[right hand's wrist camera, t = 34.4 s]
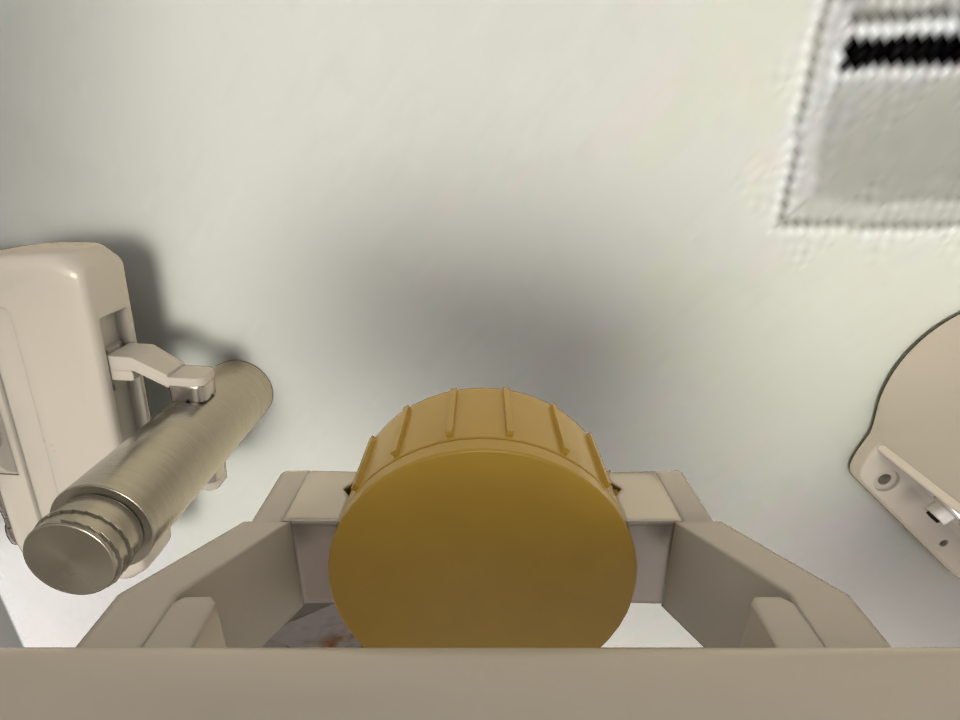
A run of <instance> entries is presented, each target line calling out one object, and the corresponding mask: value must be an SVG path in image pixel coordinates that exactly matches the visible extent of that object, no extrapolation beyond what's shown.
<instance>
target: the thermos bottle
mask: <svg viewBox="0 0 960 720" xmlns="http://www.w3.org/2000/svg"><path fill="white" fill-rule="evenodd" d="M214 375H215V385H216V393H215V394H214V395H211V397H210V399H208V400H207V401H205V402H201V403H194V402H191V401H189V400H187V401H185V402H175V401H173V402H172V403H171V404H169V405H168V406H167V407H166V408H165V409H163V410H162V411H161V412H160V413H158V414H157V415H156V416H155V417H153V418H152V419H151V420H150V421H149V422H147V423H146V424H145V425H144V426H142V427H141V428H140V429H139V430H137V431H136V432H135V433H134V434H133V435H131V436H130V437H129V438H128V439H126V440H125V441H124V442H123V443H122V444H120V445H119V446H118V447H117V448H115V449H114V450H113V451H112V452H110V453H109V454H108V455H107V456H106V457H104V458H103V459H102V460H101V461H99V462H98V463H97V464H96V465H95V466H93V467H92V468H91V469H90V470H88V471H87V472H86V473H85V474H83V475H82V476H81V477H80V478H79V479H77V480H76V481H75V482H74V483H72V484H71V485H70V486H69V487H67V488H66V489H65V490H64V491H63V492H61V493H60V494H59V495H58V496H57V497H56V498H55V500H54V501H53V503H52V505H51V508H50V513H49V514H47V515H46V516H44V517H43V518H41V519H40V520H39V521H38V523H37V524H36V526H35V527H34V528H33V530H32V531H31V532H30V533H29V534H28V535H27V537H26V539H25V541H24V544H23V556H24V559H25V562H26V564H27V566H28V567H29V569H30V570H31V571H32V573H33V574H34V575H35V576H36V577H37V578H38V579H40V580H41V581H42V582H44V583H45V584H47V585H48V586H50V587H52V588H54V589H57V590H59V591H62V592H65V593H70V594H77V595H86V594H93V593H96V592H99V591H101V590H103V589H105V588H106V587H109V586H110V585H112V584H113V583H115V582H116V581H117V580H118V579H119V577H120V576H121V575H122V574H123V572H125V571H126V569H127V568H128V567H129V566H131V565H133V564H136V563H138V562H140V561H141V560H143V559H144V558H145V557H146V556H147V555H148V554H149V553H150V552H151V551H152V549H153V548H154V547H155V546H156V544H157V543H158V542H159V541H160V540H161V538H162V537H163V536H164V535H165V534H166V532H167V531H168V530H169V529H170V527H171V526H172V525H173V524H174V523H175V521H176V520H177V519H178V518H179V517H180V515H181V514H182V513H183V512H184V511H185V509H186V508H187V507H188V506H189V504H190V503H191V502H192V501H193V500H194V498H195V497H196V496H197V495H198V494H199V492H200V491H201V490H202V489H203V487H204V486H205V485H206V484H207V483H208V481H209V480H210V479H211V478H212V477H213V475H214V474H215V473H216V472H217V470H218V469H219V468H220V467H221V466H222V464H223V463H224V462H225V461H226V460H227V458H228V457H229V456H230V455H231V453H232V452H233V451H234V450H235V449H236V447H237V446H238V445H239V444H240V443H241V441H242V440H243V439H244V438H245V437H246V435H247V434H248V433H249V432H250V430H251V429H252V428H253V427H254V426H255V424H256V423H257V422H258V421H259V420H260V418H261V417H262V416H263V415H264V413H265V412H266V411H267V410H268V408H269V407H270V405H271V402H272V397H273V392H272V387H271V384H270V382H269V380H268V378H267V377H266V376H265V374H264V373H263V372H262V371H261V370H259V369H258V368H257V367H255V366H253V365H251V364H249V363H246V362H243V361H227V362H223V363H221V364H219V365H217V366H216V367H215V368H214Z"/></svg>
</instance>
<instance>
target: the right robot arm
mask: <svg viewBox="0 0 960 720" xmlns="http://www.w3.org/2000/svg"><path fill="white" fill-rule="evenodd" d="M850 472H851V474H852V475H853V476H854V477H855V478H856V479H857V480H858V481H859V482H860V483H861V484H862V485H863V486H864V487H865V488H866V489H867V490H868V491H869V492H870V493H871V494H872V495H873V496H874V497H875V498H876V499H877V500H878V501H879V502H880V503H881V504H882V505H883V506H884V507H885V508H886V509H887V510H888V511H889V512H890V513H891V514H892V515H893V516H894V517H895V518H896V519H897V520H898V521H899V522H900V523H901V524H902V525H903V526H904V527H905V528H906V529H907V530H909V531H910V532H911V533H912V534H913V535H914V536H915V537H916V538H917V539H918V540H919V541H920V542H921V543H922V544H923V545H924V546H925V547H926V548H927V549H928V550H929V551H930V552H931V553H932V554H933V555H934V556H935V557H936V558H937V559H938V560H939V561H940V562H941V563H942V564H943V565H944V566H945V567H946V568H947V569H948V570H949V571H951V572H952V573H953V574H955V575H956V576H957V577H959V578H960V314H959V315H957V316H955V317H953V318H952V319H950V320H948V321H947V322H945V323H943V324H942V325H940V326H939V327H938V328H936V329H935V330H933V331H932V332H931V333H929V334H928V335H927V336H926V337H925V338H923V339H922V340H921V341H920V342H919V343H918V344H917V345H916V346H915V347H914V348H913V349H912V350H911V351H910V352H909V353H908V354H907V355H906V356H905V357H904V359H903V360H902V361H901V362H900V364H899V365H898V366H897V368H896V369H895V371H894V372H893V374H892V375H891V377H890V379H889V380H888V382H887V384H886V386H885V388H884V390H883V393H882V395H881V398H880V401H879V404H878V407H877V411H876V416H875V420H874V423H873V426H872V429H871V431H870V434H869V435H868V436H867V438H866V439H865V440H864V442H863V443H862V444H861V446H860V447H859V449H858V450H857V452H856V453H855V455H854V456H853V458H852V460H851V463H850ZM356 473H357V472H342V471H286V472H283V473H282V474H281V475H280V477H279V479H278V480H277V482H276V483H275V485H274V487H273V488H272V490H271V492H270V493H269V495H268V496H267V498H266V500H265V501H264V503H263V505H262V506H261V508H260V509H259V511H258V513H257V514H256V516H255V518H254V519H253V521H252V522H243V523H241V524H240V525H238V526H236V527H234V528H233V529H231V530H229V531H228V532H226V533H224V534H222V535H221V536H219V537H217V538H215V539H214V540H212V541H210V542H209V543H207V544H205V545H203V546H202V547H200V548H198V549H196V550H195V551H193V552H191V553H190V554H188V555H186V556H184V557H183V558H181V559H179V560H178V561H176V562H174V563H172V564H171V565H169V566H167V567H165V568H164V569H162V570H160V571H159V572H157V573H155V574H153V575H152V576H150V577H148V578H146V579H145V580H143V581H141V582H140V583H138V584H136V585H134V586H133V587H131V588H129V589H127V590H126V591H124V592H122V593H121V594H119V595H118V596H117V597H116V598H115V600H114V601H113V602H112V603H111V604H110V606H109V607H108V608H107V609H106V611H105V612H104V613H103V614H102V616H101V617H100V618H99V619H98V620H97V622H96V623H95V624H94V625H93V627H92V628H91V629H90V630H89V631H88V633H87V634H86V635H85V636H84V638H83V639H82V640H81V641H80V643H79V644H78V645H77V646H76V647H75V648H0V720H960V648H892V647H891V646H890V645H889V644H888V642H887V641H886V640H885V639H884V638H883V636H882V635H881V634H880V633H879V631H878V630H877V629H876V628H875V627H874V625H873V624H872V623H871V622H870V621H869V619H868V618H867V617H866V616H865V614H864V613H863V612H862V611H861V610H860V608H859V607H858V606H857V605H856V603H855V602H854V601H853V600H852V599H851V597H850V596H849V595H847V594H845V593H844V592H842V591H840V590H838V589H837V588H835V587H833V586H831V585H830V584H828V583H826V582H825V581H823V580H821V579H819V578H818V577H816V576H814V575H812V574H811V573H809V572H807V571H805V570H804V569H802V568H800V567H799V566H797V565H795V564H793V563H792V562H790V561H788V560H786V559H785V558H783V557H781V556H779V555H778V554H776V553H774V552H772V551H771V550H769V549H767V548H766V547H764V546H762V545H760V544H759V543H757V542H755V541H753V540H752V539H750V538H748V537H746V536H745V535H743V534H741V533H740V532H738V531H736V530H734V529H733V528H731V527H729V526H727V525H726V524H724V523H722V522H713V521H712V519H711V517H710V516H709V514H708V513H707V511H706V510H705V508H704V506H703V505H702V503H701V502H700V500H699V499H698V497H697V495H696V494H695V492H694V491H693V489H692V488H691V486H690V484H689V483H688V481H687V480H686V478H685V477H684V475H683V473H682V472H680V471H678V470H675V471H653V472H611V473H607V474H608V477H609V479H610V482H611V485H612V487H613V488H614V489H616V490H618V492H619V493H618V494H617V496H616V498H617V500H618V503H619V505H620V508H621V510H622V513H623V516H624V518H625V521H626V523H627V526H628V529H629V531H630V534H631V537H632V541H633V544H634V547H635V553H636V560H637V578H636V585H635V590H634V594H633V598H632V601H631V603H662V605H661V606H662V607H663V608H664V609H665V610H666V611H667V612H668V613H669V614H670V615H672V616H673V617H674V618H675V619H676V620H677V621H678V622H679V623H680V624H681V625H682V626H683V627H684V628H685V629H686V630H687V631H688V632H689V633H690V634H691V635H692V636H693V637H694V638H695V639H696V640H697V641H698V642H699V643H700V644H701V645H702V646H703V647H704V648H261V647H262V646H263V645H264V644H265V643H266V642H267V641H268V640H269V639H270V638H271V637H272V636H273V635H274V634H275V633H276V632H277V631H278V630H279V629H281V628H282V627H283V626H284V625H285V624H286V623H287V622H288V621H289V620H290V619H291V618H292V617H293V616H294V615H295V614H296V613H297V612H298V611H299V610H300V609H301V608H302V607H303V603H334V601H333V598H332V593H331V589H330V585H329V575H328V562H329V552H330V548H331V544H332V541H333V537H334V534H335V531H336V529H337V526H338V523H339V521H340V518H341V515H342V513H343V510H344V508H345V505H346V502H347V500H348V497H349V496H348V494H350V492H351V487H352V484H353V481H354V479H355V476H356ZM881 475H882V476H881ZM880 476H881V477H880ZM879 477H880V478H879Z"/></svg>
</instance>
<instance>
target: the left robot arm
mask: <svg viewBox="0 0 960 720" xmlns="http://www.w3.org/2000/svg"><path fill="white" fill-rule="evenodd" d="M143 376H145V377H147V378H149V379H151V380H153V381H155V382H157V383H159V384H161V385H163V386H165V387H168V388H170V393H171V398H172V401H175V402H185V401H187V400H189V401H191V402H194V403H201V402H205V401H207V400H208V399H210V397H211V395H214V394H215V393H216V385H215V375H214V368H212V367H208V366H193V365H185V364H184V362H182V361H180V360H179V359H177V358H175V357H174V356H172V355H170V354H169V353H167V352H165V351H164V350H162V349H161V348H159V347H157V346H156V345H154V344H144V343H137V339H136V333H135V328H134V322H133V316H132V311H131V305H130V300H129V294H128V288H127V283H126V277H125V271H124V266H123V262H122V260H121V258H120V257H118V256H117V255H116V254H115V253H113V252H112V251H111V250H109V249H108V248H107V247H105V246H104V245H102V244H100V243H93V242H54V243H42V244H33V245H26V246H20V247H15V248H9V249H4V250H0V512H1V514H2V516H3V518H4V521H5V524H6V525H5V532H6V535H7V537H8V539H9V540H10V542H11V543H12V544H15V545H18V546H19V548H20V549H21V551H22V552H23V544H24V541H25V539H26V537H27V535H28V534H29V533H30V532H31V531H32V530H33V528H34V527H35V526H36V524H37V523H38V521H39V520H40V519H41V518H43V517H44V516H46V515H47V514H49V513H50V508H51V505H52V503H53V501H54V500H55V498H56V497H57V496H58V495H59V494H60V493H61V492H63V491H64V490H65V489H66V488H67V487H69V486H70V485H71V484H72V483H74V482H75V481H76V480H77V479H79V478H80V477H81V476H82V475H83V474H85V473H86V472H87V471H88V470H90V469H91V468H92V467H93V466H95V465H96V464H97V463H98V462H99V461H101V460H102V459H103V458H104V457H106V456H107V455H108V454H109V453H110V452H112V451H113V450H114V449H115V448H117V447H118V446H119V445H120V444H122V443H123V442H124V441H125V440H126V439H128V438H129V437H130V436H131V435H133V434H134V433H135V432H136V431H137V430H139V429H140V428H141V427H142V426H144V425H145V424H146V423H147V422H149V421H150V420H151V417H150V411H149V406H148V400H147V395H146V389H145V383H144V378H143ZM226 478H227V472H226V464H225V462H224V463H223V464H222V466H221V467H220V468H219V469H218V470H217V472H216V473H215V474H214V475H213V477H212V478H211V479H210V480H209V481H208V483H207V484H206V485H205V486H204V487H203V489H202V490H214V489H217V488H218V487H220V486H221V484H222V483H223V482H224V480H225V479H226ZM170 538H171V528H170V529H169V530H168V531H167V532H166V534H165V535H164V536H163V537H162V538H161V540H160V541H159V542H158V543H157V544H156V546H155V547H154V548H153V549H152V551H151V552H150V553H149V554H148V555H147V556H146V557H145V558H144V559H143V560H141V561H140V562H138V563H136V564H133V565H131V566H129V567H128V568H127V569H126V571H125V572H123V574H122V575H121V576H120V577H119V578H131V577H134V576H136V575H138V574H139V573H141V572H142V571H144V570H145V569H146V568H148V567H149V566H150V564H151V563H152V562H153V561H154V560H155V558H156V557H157V556H158V555H159V554H160V552H161V551H162V550H163V548H164V547H165V546H166V544H167V543H168V541H169V540H170Z"/></svg>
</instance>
